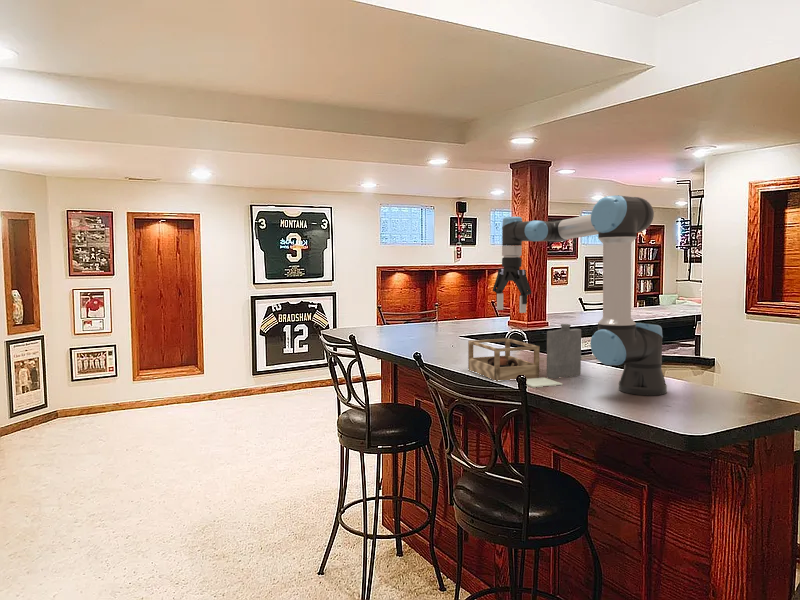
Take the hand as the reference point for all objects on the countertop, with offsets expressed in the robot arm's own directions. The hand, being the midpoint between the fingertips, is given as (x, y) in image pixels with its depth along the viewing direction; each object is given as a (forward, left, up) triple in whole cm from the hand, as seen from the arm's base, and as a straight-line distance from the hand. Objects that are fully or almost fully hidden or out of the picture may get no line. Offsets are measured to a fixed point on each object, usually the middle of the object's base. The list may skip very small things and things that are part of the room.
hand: (511, 311), depth 241 cm
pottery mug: (-2, +5, -25) cm, 25 cm away
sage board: (-22, +1, -24) cm, 33 cm away
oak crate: (-2, +5, -24) cm, 25 cm away
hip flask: (-14, -15, -24) cm, 32 cm away
